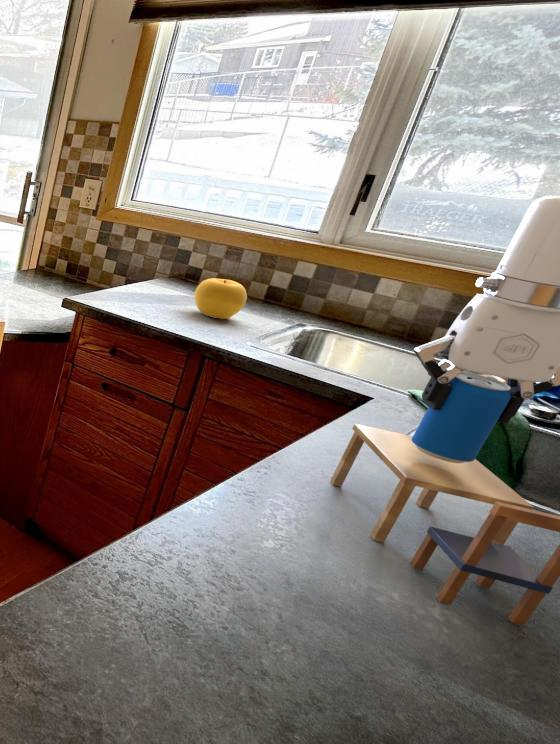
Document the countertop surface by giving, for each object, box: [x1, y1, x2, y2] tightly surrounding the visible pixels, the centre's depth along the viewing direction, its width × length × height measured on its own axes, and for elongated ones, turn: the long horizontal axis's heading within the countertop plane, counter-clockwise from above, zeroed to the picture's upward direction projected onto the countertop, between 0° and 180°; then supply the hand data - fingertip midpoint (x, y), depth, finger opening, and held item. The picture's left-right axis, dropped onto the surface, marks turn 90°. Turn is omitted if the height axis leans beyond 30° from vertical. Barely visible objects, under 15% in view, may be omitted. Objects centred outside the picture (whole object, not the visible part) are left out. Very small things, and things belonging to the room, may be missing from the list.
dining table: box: [329, 423, 534, 545], centre depth 92 cm, size 13×17×11 cm
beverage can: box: [411, 371, 511, 463], centre depth 87 cm, size 6×6×12 cm
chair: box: [409, 501, 560, 627], centre depth 77 cm, size 8×8×15 cm
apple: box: [194, 277, 248, 320], centre depth 184 cm, size 13×13×11 cm
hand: (463, 411), depth 86 cm, fingers closed on beverage can, 6 cm apart
